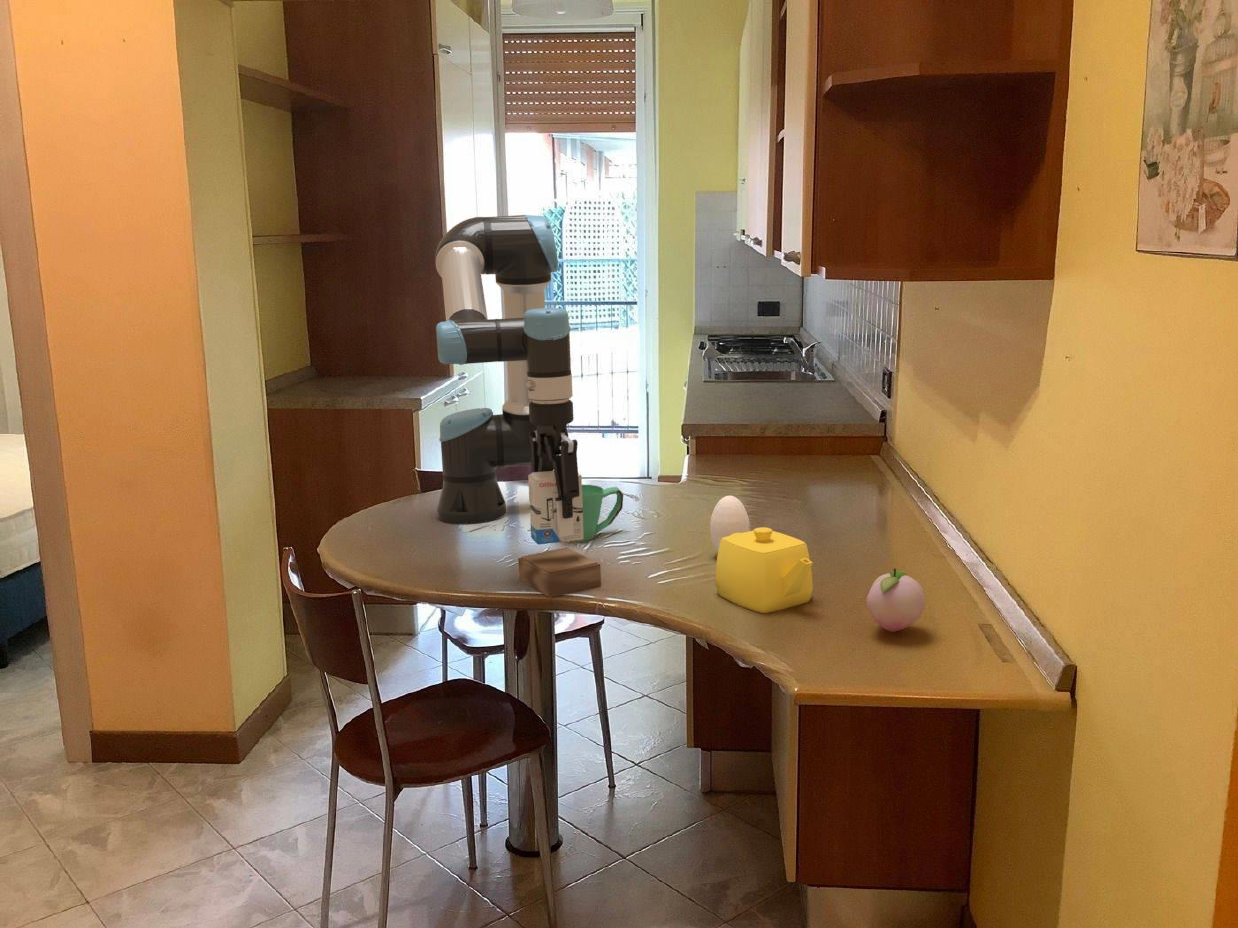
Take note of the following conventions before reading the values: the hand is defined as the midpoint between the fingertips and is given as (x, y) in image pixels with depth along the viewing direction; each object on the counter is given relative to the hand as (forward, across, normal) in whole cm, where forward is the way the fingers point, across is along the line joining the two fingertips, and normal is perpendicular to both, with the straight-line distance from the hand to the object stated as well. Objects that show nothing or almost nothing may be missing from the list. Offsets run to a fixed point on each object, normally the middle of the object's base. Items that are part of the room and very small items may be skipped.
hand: (557, 531), depth 182 cm
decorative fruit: (+10, +51, +30) cm, 60 cm away
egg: (+10, +6, +33) cm, 35 cm away
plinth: (+9, 0, 0) cm, 9 cm away
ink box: (+2, 0, 0) cm, 2 cm away
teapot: (+10, +28, +24) cm, 38 cm away
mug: (+10, -22, +19) cm, 31 cm away
